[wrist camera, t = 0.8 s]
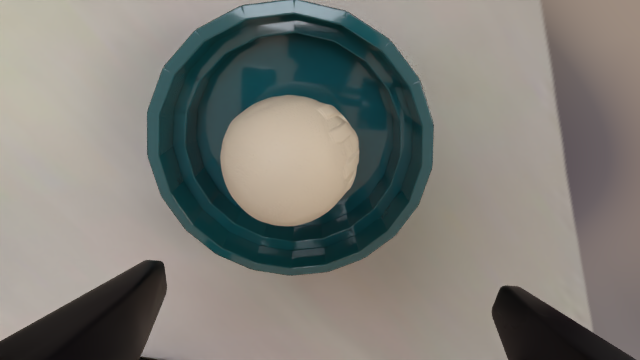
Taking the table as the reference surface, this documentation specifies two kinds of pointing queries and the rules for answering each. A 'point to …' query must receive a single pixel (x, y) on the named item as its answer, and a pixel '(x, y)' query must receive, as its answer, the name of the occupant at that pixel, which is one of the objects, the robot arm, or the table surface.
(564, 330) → the robot arm
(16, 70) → the table surface
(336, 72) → the bowl
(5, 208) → the table surface
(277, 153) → the beige round lump
